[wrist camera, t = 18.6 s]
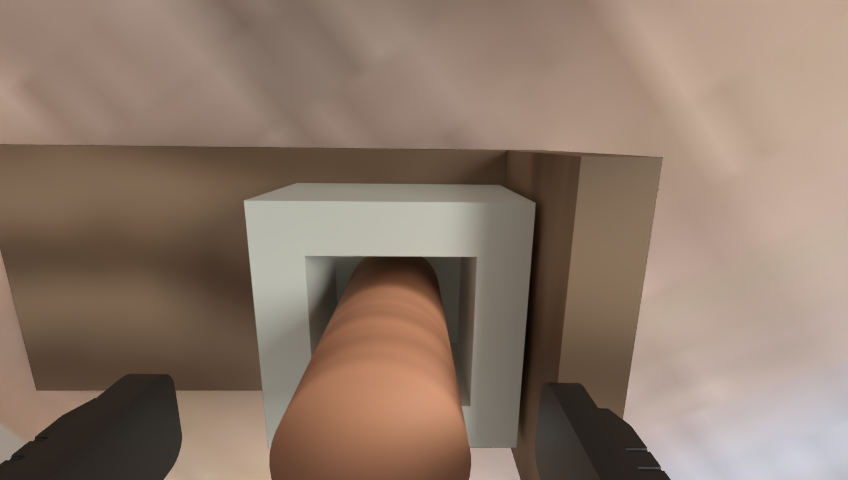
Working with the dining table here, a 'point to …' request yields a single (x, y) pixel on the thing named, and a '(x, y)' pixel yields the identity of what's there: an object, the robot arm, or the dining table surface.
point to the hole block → (396, 236)
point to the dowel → (378, 386)
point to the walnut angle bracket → (230, 265)
